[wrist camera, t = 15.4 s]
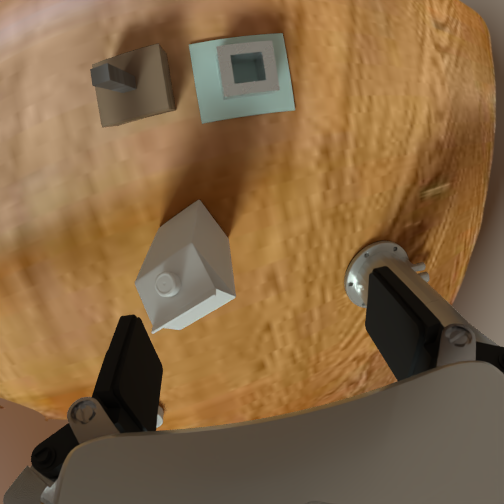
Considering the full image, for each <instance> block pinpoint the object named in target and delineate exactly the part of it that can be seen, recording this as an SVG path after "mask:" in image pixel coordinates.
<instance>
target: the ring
mask: <svg viewBox="0 0 504 504" xmlns="http://www.w3.org/2000/svg"><path fill="white" fill-rule="evenodd" d="M216 60H217V67H218V73H219V79H220V86H221V92H222V98H223V101H224V100H230V99H237V98H244V97H252V96H260V95H269V94H272V93H274V92H277V91H279V90H280V87H279V81H278V74H277V68H276V61H275V55H274V49H273V43H272V40H271V41H258V42H247V43H238V44H230V45H222V46H216ZM247 62H255V66H256V73H257V79H258V81H253V82H245V83H237V84H235V82H234V76H233V70H232V64H238V63H247Z"/></svg>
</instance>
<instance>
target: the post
mask: <svg viewBox="0 0 504 504" xmlns="http://www.w3.org/2000/svg"><path fill="white" fill-rule="evenodd" d="M92 67H93V69H90V70H91V78H92V85H93V86H95V89H96V95H97V101H98V107H99V113H100V119H101V124H102V127H111V126H119V125H122V124H125V123H129V122H132V121H136V120H139V119H143V118H147V117H150V116H154V115H158V114H162V113H166V112H170V111H175V110H176V108H175V102H174V96H173V90H172V84H171V78H170V72H169V66H168V59H167V54H166V53H165V51H164V50H163V49H162V47H161V46H160V45H159V43H158V44H155V45H151V46H147V47H143V48H140V49H137V50H133V51H130V52H127V53H124V54H120V55H117V56H114V57H112V58H109V59H106V60H103V61H100V62H98V63H95V64H92Z"/></svg>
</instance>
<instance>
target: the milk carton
mask: <svg viewBox="0 0 504 504" xmlns="http://www.w3.org/2000/svg"><path fill="white" fill-rule="evenodd" d="M135 285H136V288H137V290H138V293H139V295H140V297H141V300H142V302H143V304H144V307H145V309H146V311H147V314H148V316H149V318H150V320H151V323H152V325H153V327H152V332H151V333H152V334H154V333H155V332H157V331H159V330H160V329H162V328H168V329H176V330H181V329H183V328H185V327H186V326H188V325H190V324H191V323H193V322H195V321H197V320H198V319H200V318H202V317H204V316H205V315H207V314H209V313H210V312H212V311H214V310H215V309H217V308H219V307H221V306H222V305H224V304H226V303H227V302H229V301H231V300H232V299H234V298H235V297H236V293H235V286H234V278H233V270H232V262H231V254H230V246H229V239H228V237H227V236H226V234H225V233H224V232H223V230H222V229H221V228H220V226H219V225H218V224H217V222H216V221H215V220H214V218H213V217H212V216H211V214H210V213H209V212H208V210H207V209H206V207H205V206H204V205H203V203H202V202H201V201H200V200H197V201H196V202H194V203H193V204H191V205H190V206H188V207H187V208H186V209H184V210H183V211H181V212H180V213H179V214H177V215H176V216H174V217H173V218H172V219H170V220H169V221H167V222H166V223H165V224H163V225H162V226H161V227H160V228H159V229H158V231H157V233H156V236H155V238H154V240H153V242H152V244H151V246H150V249H149V251H148V253H147V255H146V258H145V260H144V262H143V264H142V267H141V269H140V271H139V274H138V276H137V279H136V281H135Z"/></svg>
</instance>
